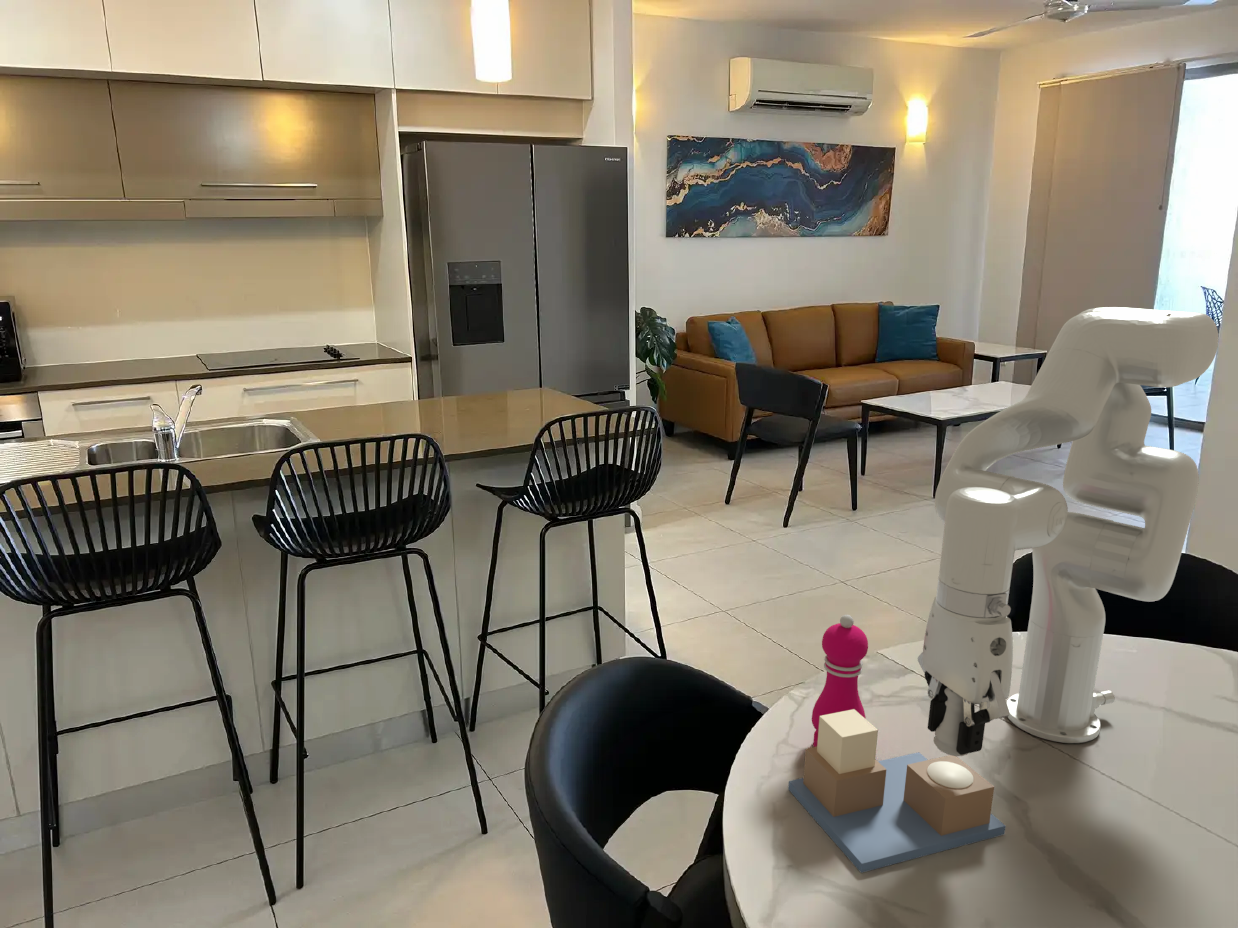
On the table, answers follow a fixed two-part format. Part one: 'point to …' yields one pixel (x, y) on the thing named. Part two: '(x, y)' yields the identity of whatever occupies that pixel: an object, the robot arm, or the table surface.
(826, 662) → the pepper mill
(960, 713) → the rook chess piece
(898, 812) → the blue and tan platform
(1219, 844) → the table surface
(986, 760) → the table surface
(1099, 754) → the table surface
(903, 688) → the table surface
